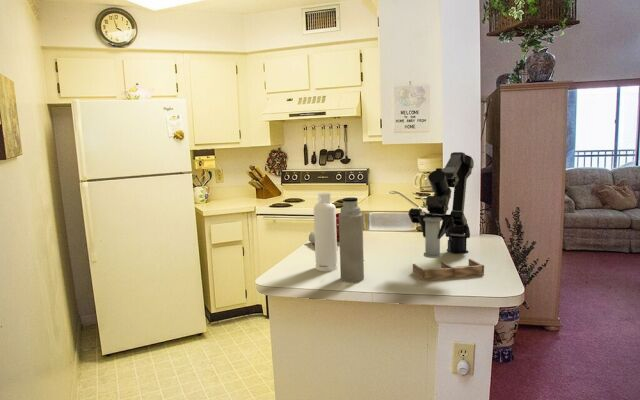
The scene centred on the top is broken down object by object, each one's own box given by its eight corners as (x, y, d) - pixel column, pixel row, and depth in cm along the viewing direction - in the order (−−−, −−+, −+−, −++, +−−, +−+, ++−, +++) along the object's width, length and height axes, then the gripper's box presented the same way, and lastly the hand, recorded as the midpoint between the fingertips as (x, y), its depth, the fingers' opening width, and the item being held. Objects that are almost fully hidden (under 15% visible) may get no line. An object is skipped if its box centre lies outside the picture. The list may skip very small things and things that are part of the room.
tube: (341, 245, 184) (320, 233, 208) (329, 242, 182) (310, 230, 206) (337, 257, 185) (317, 244, 208) (326, 254, 183) (307, 241, 206)
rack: (470, 267, 160) (470, 258, 159) (483, 274, 151) (484, 265, 150) (412, 272, 156) (412, 263, 155) (422, 280, 147) (422, 270, 147)
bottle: (312, 266, 167) (309, 193, 163) (332, 263, 171) (329, 191, 167) (321, 272, 160) (318, 195, 156) (341, 269, 163) (338, 193, 159)
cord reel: (432, 252, 156) (432, 216, 154) (445, 256, 151) (445, 218, 149) (419, 255, 153) (419, 218, 151) (432, 259, 148) (432, 220, 146)
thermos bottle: (344, 274, 157) (341, 196, 153) (366, 276, 154) (364, 196, 150) (337, 281, 149) (335, 199, 145) (360, 283, 147) (358, 199, 143)
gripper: (409, 185, 156) (398, 222, 149) (463, 187, 147) (455, 226, 139) (417, 204, 164) (407, 240, 157) (469, 207, 155) (461, 245, 147)
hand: (431, 237), depth 150 cm, fingers closed on cord reel, 5 cm apart
